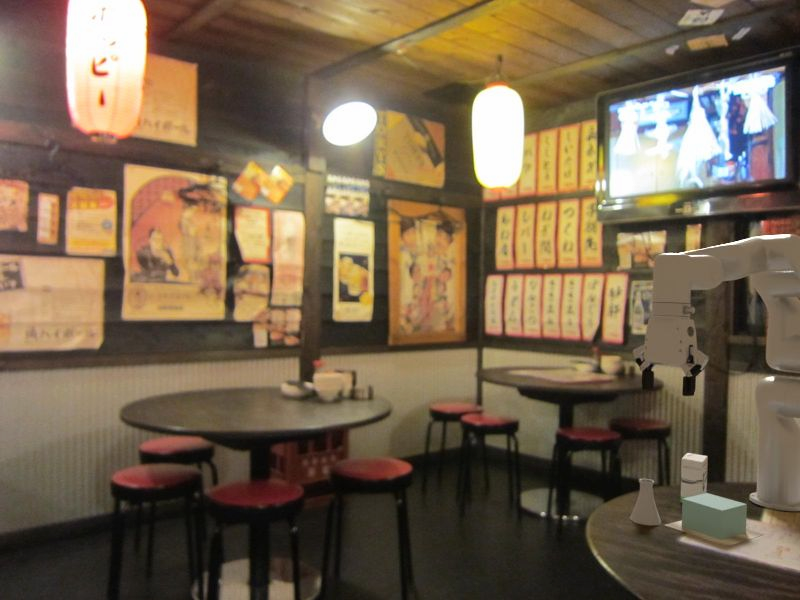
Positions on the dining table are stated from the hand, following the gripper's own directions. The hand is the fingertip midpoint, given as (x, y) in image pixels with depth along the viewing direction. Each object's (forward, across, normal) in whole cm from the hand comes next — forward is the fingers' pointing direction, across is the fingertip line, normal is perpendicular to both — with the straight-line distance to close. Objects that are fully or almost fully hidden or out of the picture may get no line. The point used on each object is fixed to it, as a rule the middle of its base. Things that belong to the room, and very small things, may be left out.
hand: (667, 392), depth 139 cm
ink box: (+30, +9, -26) cm, 41 cm away
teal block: (+29, -6, -10) cm, 31 cm away
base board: (+30, -6, -10) cm, 32 cm away
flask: (+30, +5, -2) cm, 31 cm away
